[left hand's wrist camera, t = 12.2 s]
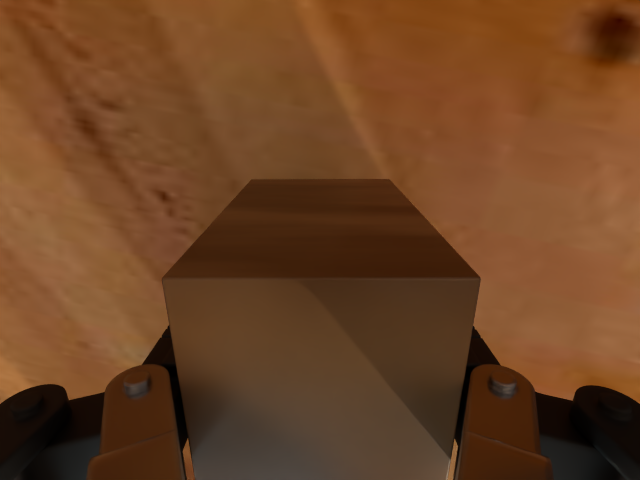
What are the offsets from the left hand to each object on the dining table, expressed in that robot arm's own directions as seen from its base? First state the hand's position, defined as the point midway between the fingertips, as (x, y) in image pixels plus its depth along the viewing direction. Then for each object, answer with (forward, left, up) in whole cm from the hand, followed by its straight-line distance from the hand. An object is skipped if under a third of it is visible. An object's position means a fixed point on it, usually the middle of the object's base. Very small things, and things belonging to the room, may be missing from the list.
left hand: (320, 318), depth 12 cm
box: (+7, 0, -5) cm, 9 cm away
